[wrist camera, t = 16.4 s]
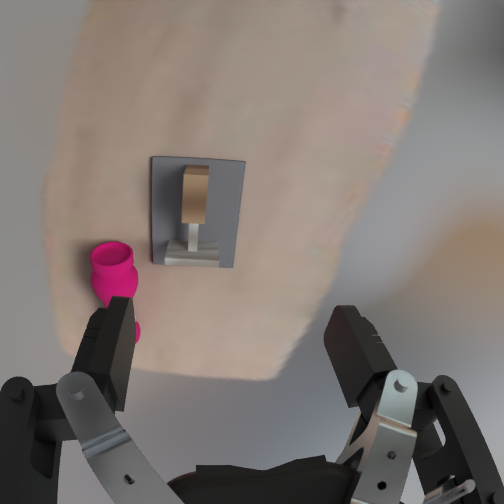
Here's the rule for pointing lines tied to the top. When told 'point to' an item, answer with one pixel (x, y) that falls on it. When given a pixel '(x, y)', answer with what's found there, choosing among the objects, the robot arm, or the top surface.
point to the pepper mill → (114, 273)
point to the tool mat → (217, 206)
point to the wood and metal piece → (193, 223)
